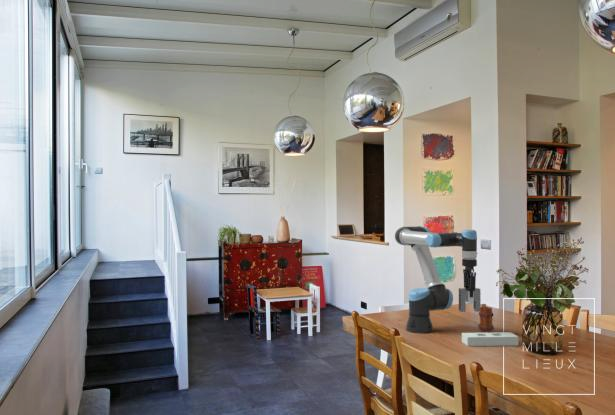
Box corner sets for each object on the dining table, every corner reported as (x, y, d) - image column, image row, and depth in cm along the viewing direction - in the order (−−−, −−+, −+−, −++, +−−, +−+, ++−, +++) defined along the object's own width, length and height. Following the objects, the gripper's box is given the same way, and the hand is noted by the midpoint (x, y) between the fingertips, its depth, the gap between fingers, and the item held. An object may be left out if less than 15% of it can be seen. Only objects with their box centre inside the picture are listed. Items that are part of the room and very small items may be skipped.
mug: (495, 335, 273) (495, 308, 273) (479, 334, 275) (479, 307, 275) (490, 329, 288) (490, 303, 288) (476, 328, 289) (475, 302, 289)
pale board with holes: (467, 346, 252) (467, 337, 252) (461, 341, 261) (461, 332, 261) (518, 345, 253) (518, 336, 253) (510, 340, 262) (510, 332, 262)
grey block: (460, 311, 265) (460, 289, 265) (458, 310, 268) (458, 288, 268) (480, 311, 265) (480, 289, 265) (478, 310, 268) (478, 288, 268)
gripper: (482, 260, 258) (482, 305, 258) (471, 257, 274) (471, 299, 274) (467, 260, 258) (467, 305, 258) (457, 257, 274) (457, 299, 274)
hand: (469, 302), depth 266 cm, fingers closed on grey block, 3 cm apart
